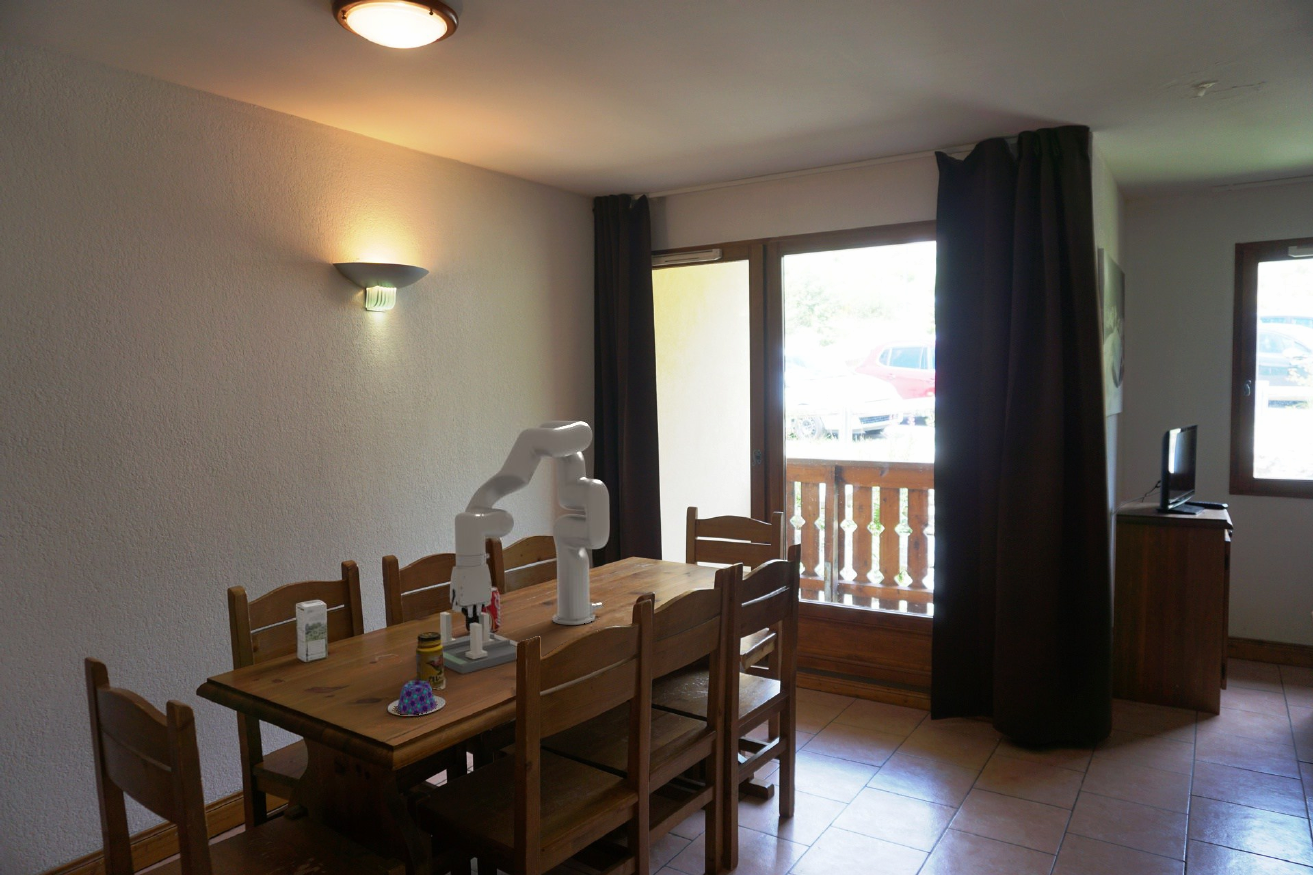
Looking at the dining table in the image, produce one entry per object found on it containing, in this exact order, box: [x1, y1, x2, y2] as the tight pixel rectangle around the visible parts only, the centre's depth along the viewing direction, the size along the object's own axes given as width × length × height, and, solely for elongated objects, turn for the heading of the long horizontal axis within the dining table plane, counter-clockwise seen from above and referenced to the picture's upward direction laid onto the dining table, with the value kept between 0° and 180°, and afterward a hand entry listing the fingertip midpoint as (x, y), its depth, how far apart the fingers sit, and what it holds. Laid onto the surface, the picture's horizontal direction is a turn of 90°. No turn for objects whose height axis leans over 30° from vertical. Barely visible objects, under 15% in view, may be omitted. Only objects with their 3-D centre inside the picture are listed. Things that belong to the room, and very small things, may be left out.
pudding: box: [387, 681, 446, 717], centre depth 181 cm, size 12×12×5 cm
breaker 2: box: [466, 623, 487, 659], centre depth 208 cm, size 4×4×8 cm
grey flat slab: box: [442, 632, 519, 675], centre depth 217 cm, size 20×22×3 cm
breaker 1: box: [439, 611, 457, 645], centre depth 219 cm, size 4×4×8 cm
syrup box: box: [295, 599, 328, 663], centre depth 216 cm, size 6×6×14 cm
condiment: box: [407, 631, 447, 690], centre depth 194 cm, size 7×8×12 cm
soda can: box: [481, 586, 501, 633], centre depth 240 cm, size 7×7×12 cm
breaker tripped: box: [479, 612, 494, 645], centre depth 218 cm, size 4×4×8 cm
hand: (472, 630), depth 216 cm, fingers closed
